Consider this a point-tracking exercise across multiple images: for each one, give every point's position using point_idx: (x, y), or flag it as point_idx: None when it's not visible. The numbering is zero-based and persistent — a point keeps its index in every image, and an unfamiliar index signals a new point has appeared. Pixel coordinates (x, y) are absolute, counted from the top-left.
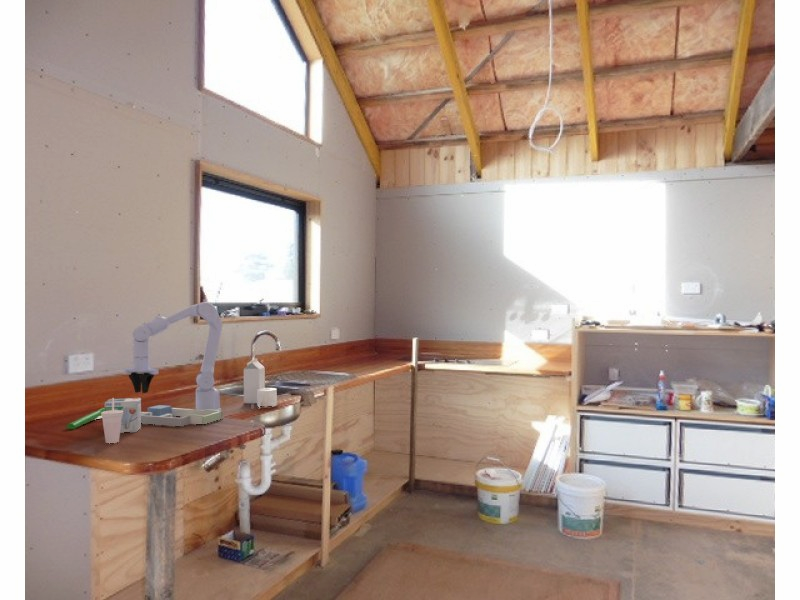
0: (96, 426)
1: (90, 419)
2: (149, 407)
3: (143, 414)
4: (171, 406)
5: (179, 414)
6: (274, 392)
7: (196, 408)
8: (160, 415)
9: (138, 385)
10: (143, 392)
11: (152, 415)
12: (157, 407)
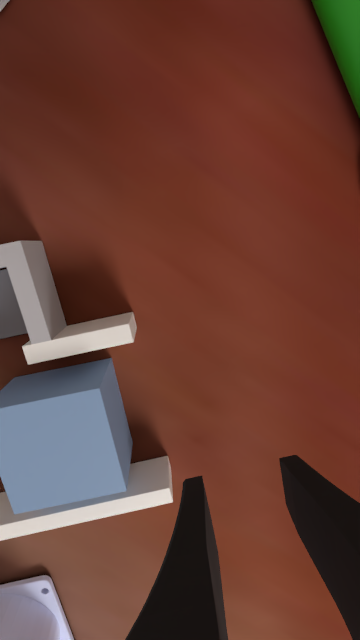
0: (203, 40)
1: (348, 82)
2: (100, 403)
3: (15, 288)
4: (16, 510)
5: (8, 499)
6: None
7: (14, 615)
8: (1, 390)
9: (321, 548)
10: (188, 481)
11: (68, 375)
12: (45, 431)
